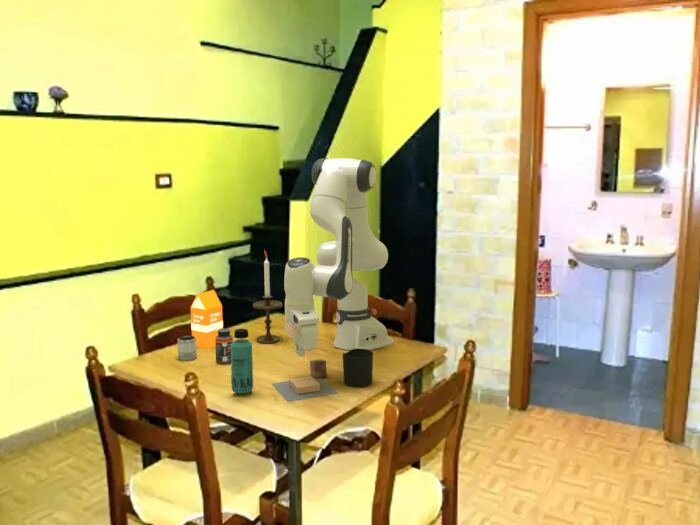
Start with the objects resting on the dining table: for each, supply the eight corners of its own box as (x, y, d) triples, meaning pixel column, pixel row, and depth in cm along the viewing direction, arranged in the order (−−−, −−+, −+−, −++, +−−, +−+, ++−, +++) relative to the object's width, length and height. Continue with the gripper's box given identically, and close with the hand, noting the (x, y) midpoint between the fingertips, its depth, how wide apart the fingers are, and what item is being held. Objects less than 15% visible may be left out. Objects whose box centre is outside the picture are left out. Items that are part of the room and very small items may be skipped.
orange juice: (223, 342, 251) (221, 290, 247) (207, 348, 243) (204, 295, 240) (208, 339, 255) (206, 288, 251) (191, 345, 247) (189, 292, 244)
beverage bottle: (232, 390, 202) (230, 326, 198) (254, 389, 202) (252, 326, 199) (230, 398, 196) (228, 333, 192) (253, 398, 196) (251, 332, 193)
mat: (319, 377, 213) (319, 376, 213) (338, 394, 198) (338, 393, 198) (271, 384, 207) (271, 383, 206) (287, 403, 192) (287, 401, 192)
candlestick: (260, 346, 246) (258, 252, 240) (249, 339, 255) (247, 248, 249) (287, 341, 251) (285, 250, 245) (275, 334, 260) (273, 246, 254)
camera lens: (197, 360, 230) (196, 338, 229) (178, 362, 229) (177, 339, 227) (196, 354, 236) (195, 333, 235) (177, 356, 234) (176, 335, 233)
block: (322, 374, 216) (321, 359, 216) (326, 376, 212) (325, 360, 212) (310, 376, 214) (309, 360, 214) (315, 378, 211) (314, 362, 210)
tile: (310, 375, 207) (319, 384, 200) (310, 382, 207) (319, 391, 200) (289, 379, 204) (297, 387, 197) (289, 385, 205) (297, 394, 197)
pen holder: (376, 388, 204) (376, 356, 202) (346, 390, 202) (346, 358, 200) (368, 377, 213) (369, 347, 211) (340, 379, 211) (340, 349, 209)
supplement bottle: (229, 365, 225) (228, 332, 223) (213, 364, 226) (211, 331, 224) (236, 359, 231) (235, 328, 229) (220, 358, 232) (218, 327, 230)
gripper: (279, 304, 210) (280, 346, 212) (300, 321, 191) (301, 367, 194) (298, 302, 212) (299, 343, 215) (321, 319, 194) (321, 364, 196)
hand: (300, 355), depth 204 cm, fingers closed
